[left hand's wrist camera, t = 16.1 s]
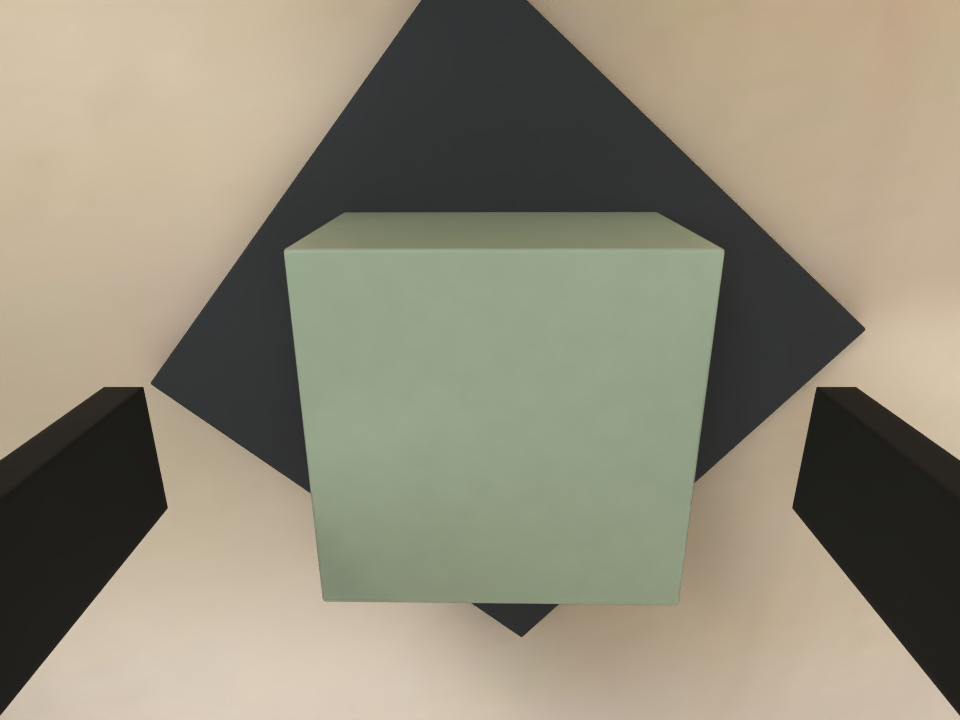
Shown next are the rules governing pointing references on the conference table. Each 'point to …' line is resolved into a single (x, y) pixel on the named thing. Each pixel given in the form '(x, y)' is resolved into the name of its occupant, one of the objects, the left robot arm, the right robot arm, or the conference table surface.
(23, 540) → the left robot arm
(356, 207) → the mat
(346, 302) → the pale green block
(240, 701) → the conference table surface
